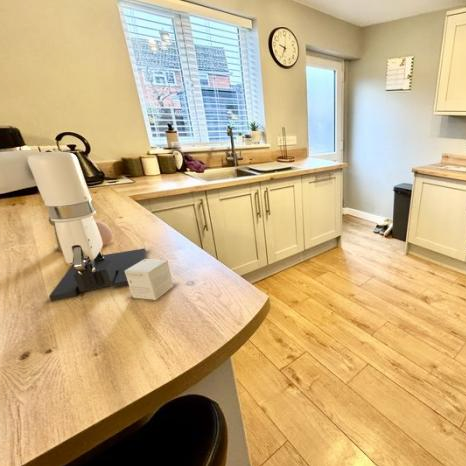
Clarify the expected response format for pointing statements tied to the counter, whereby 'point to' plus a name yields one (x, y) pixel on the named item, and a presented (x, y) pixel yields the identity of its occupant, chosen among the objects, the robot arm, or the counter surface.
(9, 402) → the counter surface
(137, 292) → the product box
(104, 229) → the egg
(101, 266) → the foam pad
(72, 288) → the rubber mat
